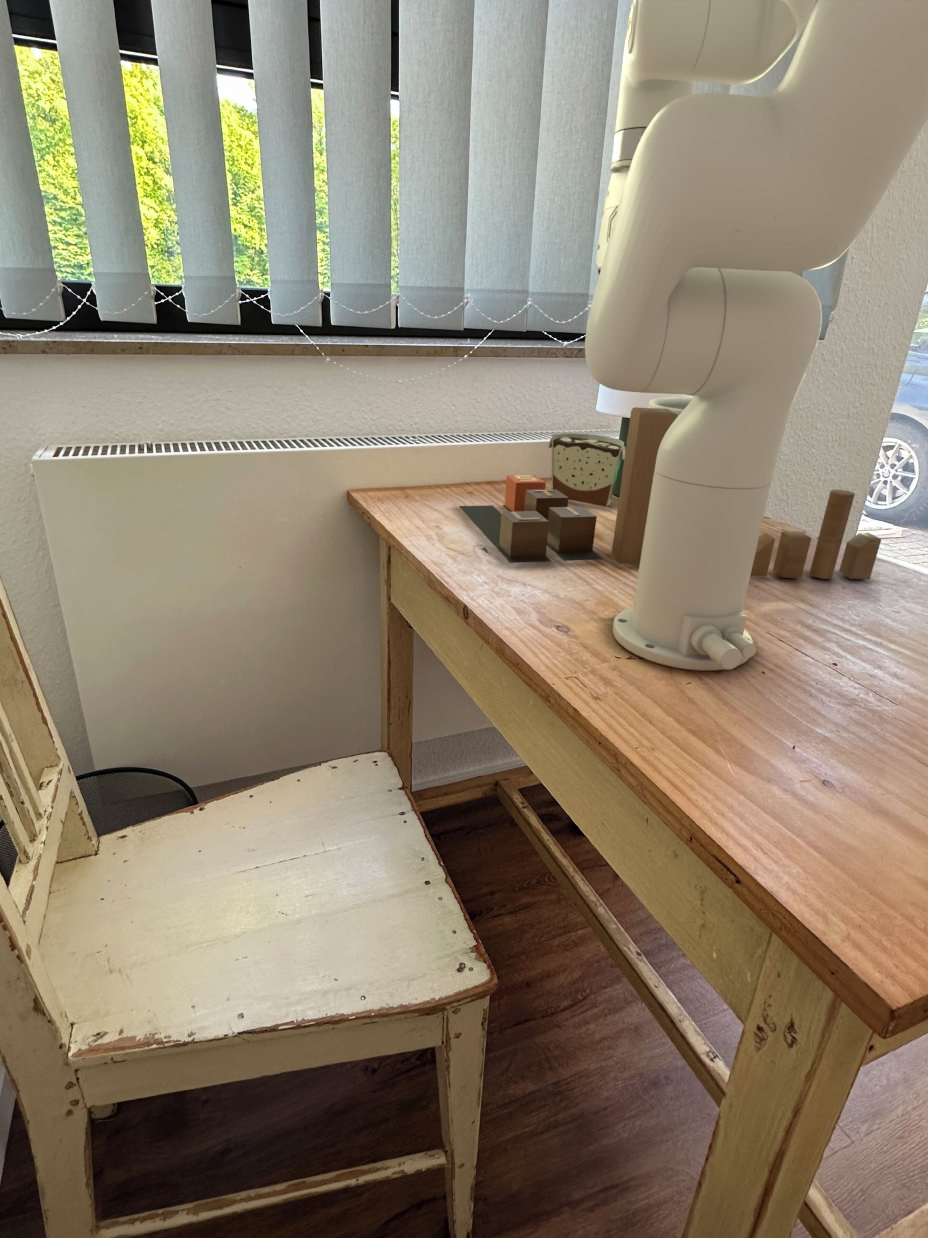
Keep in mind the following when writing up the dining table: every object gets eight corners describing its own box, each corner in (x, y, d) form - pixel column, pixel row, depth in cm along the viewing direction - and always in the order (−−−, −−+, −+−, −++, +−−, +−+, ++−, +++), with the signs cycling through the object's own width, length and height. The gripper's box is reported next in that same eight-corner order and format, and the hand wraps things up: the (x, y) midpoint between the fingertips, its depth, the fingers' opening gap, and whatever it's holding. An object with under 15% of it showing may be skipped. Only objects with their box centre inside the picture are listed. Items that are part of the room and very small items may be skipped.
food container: (630, 504, 114) (639, 440, 110) (615, 512, 109) (625, 445, 105) (559, 491, 119) (565, 429, 115) (543, 497, 115) (549, 434, 111)
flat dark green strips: (603, 563, 87) (604, 558, 86) (509, 567, 84) (510, 562, 83) (534, 508, 109) (534, 504, 108) (458, 509, 106) (458, 505, 105)
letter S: (543, 512, 104) (546, 481, 102) (513, 513, 103) (516, 481, 101) (532, 504, 108) (535, 474, 106) (504, 505, 107) (506, 474, 105)
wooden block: (682, 558, 90) (708, 410, 82) (692, 571, 86) (721, 416, 78) (610, 555, 90) (630, 406, 82) (617, 567, 86) (639, 412, 78)
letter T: (565, 530, 97) (569, 496, 95) (533, 531, 96) (536, 497, 94) (553, 520, 101) (556, 488, 99) (522, 521, 99) (525, 488, 98)
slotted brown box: (592, 551, 89) (596, 515, 87) (558, 552, 88) (562, 516, 86) (578, 540, 93) (582, 505, 91) (545, 541, 92) (549, 506, 90)
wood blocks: (857, 574, 88) (881, 490, 83) (869, 581, 85) (895, 496, 81) (658, 570, 85) (673, 484, 81) (666, 578, 83) (681, 489, 79)
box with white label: (545, 557, 86) (549, 520, 84) (509, 559, 85) (512, 521, 83) (533, 545, 90) (536, 509, 88) (498, 546, 89) (501, 510, 87)
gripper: (583, 164, 84) (567, 322, 91) (654, 136, 69) (629, 329, 76) (641, 170, 86) (621, 325, 93) (723, 145, 71) (692, 332, 77)
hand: (625, 326), depth 84 cm, fingers open, 9 cm apart
